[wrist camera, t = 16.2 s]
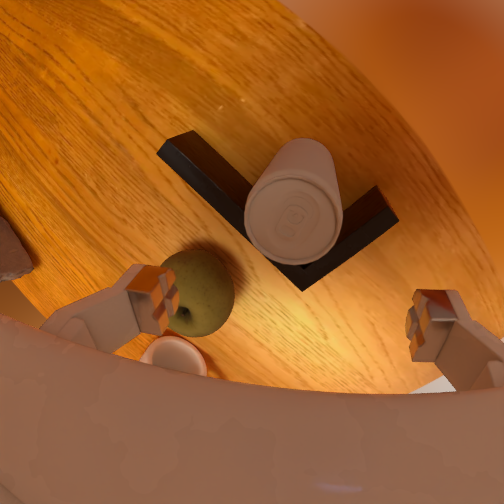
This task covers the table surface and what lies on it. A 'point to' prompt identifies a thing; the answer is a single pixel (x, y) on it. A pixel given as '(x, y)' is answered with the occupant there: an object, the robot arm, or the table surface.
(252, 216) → the beverage can
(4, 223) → the decorative rock
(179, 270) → the apple
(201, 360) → the mug
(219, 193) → the bracket
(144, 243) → the table surface
